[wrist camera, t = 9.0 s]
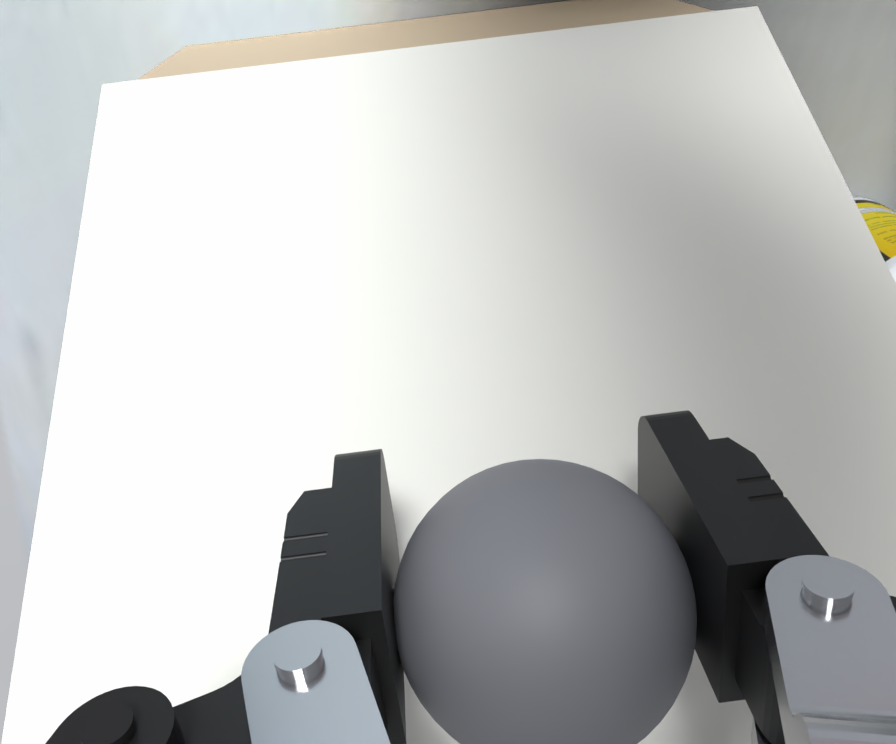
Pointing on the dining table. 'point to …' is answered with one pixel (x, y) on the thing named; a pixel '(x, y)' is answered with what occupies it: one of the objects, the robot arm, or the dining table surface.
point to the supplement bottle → (881, 229)
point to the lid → (454, 366)
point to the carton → (414, 33)
